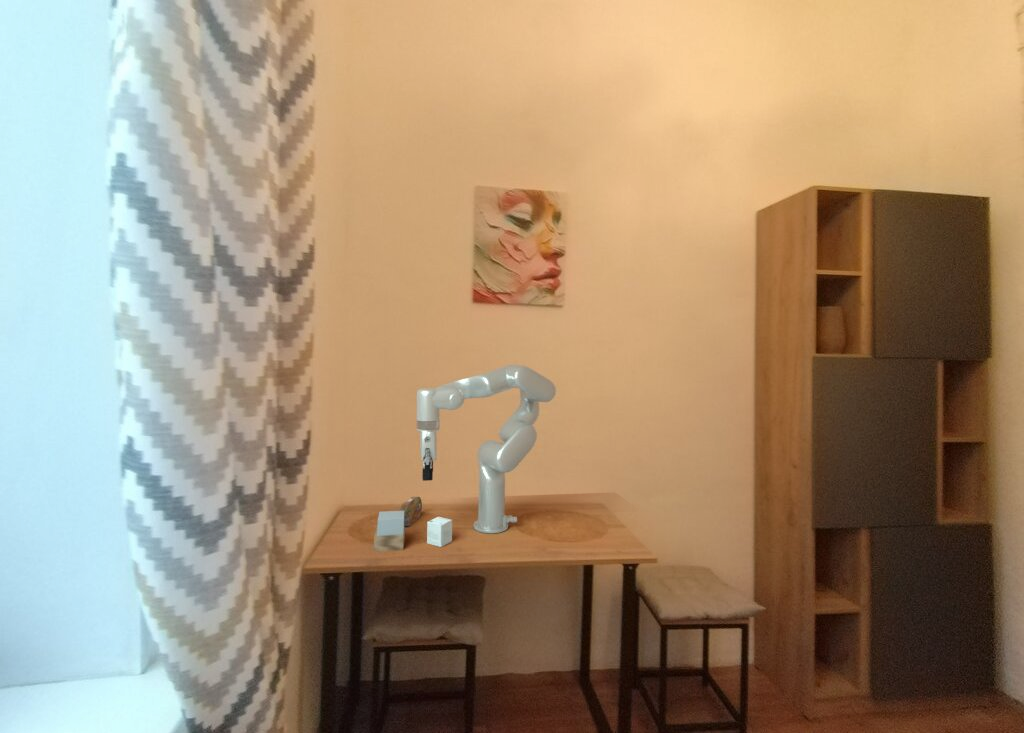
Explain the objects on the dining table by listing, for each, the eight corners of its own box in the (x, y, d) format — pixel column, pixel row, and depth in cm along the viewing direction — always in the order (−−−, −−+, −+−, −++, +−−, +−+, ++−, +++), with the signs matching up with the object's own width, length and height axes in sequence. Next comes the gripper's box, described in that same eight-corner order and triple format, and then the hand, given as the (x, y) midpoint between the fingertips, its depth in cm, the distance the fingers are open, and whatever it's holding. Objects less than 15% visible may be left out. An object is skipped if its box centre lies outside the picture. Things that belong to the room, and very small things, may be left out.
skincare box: (452, 541, 149) (452, 519, 149) (440, 547, 144) (441, 525, 144) (438, 537, 152) (438, 516, 152) (426, 543, 147) (426, 521, 147)
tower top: (403, 525, 150) (404, 510, 149) (403, 534, 142) (403, 518, 142) (379, 526, 148) (379, 511, 148) (377, 536, 140) (377, 520, 140)
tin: (405, 529, 158) (406, 506, 158) (397, 528, 159) (397, 505, 158) (422, 515, 173) (422, 494, 173) (414, 514, 173) (415, 493, 173)
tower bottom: (404, 539, 150) (404, 524, 150) (403, 550, 141) (403, 535, 141) (376, 540, 148) (377, 525, 148) (373, 552, 140) (374, 536, 139)
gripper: (439, 429, 140) (439, 483, 141) (439, 421, 158) (439, 469, 158) (415, 430, 139) (415, 484, 140) (417, 421, 156) (417, 469, 157)
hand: (427, 476), depth 149 cm, fingers open, 9 cm apart
